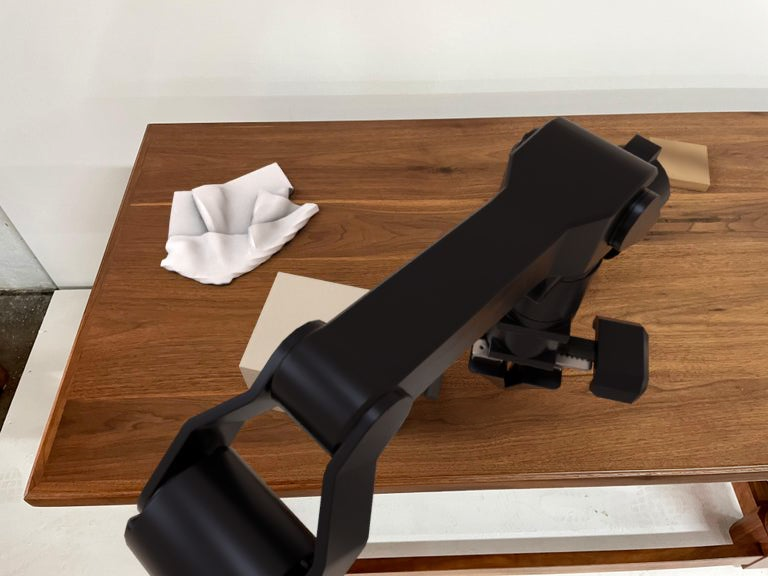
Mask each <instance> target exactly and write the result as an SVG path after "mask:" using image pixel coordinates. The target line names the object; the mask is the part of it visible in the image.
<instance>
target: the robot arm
mask: <svg viewBox="0 0 768 576" xmlns="http://www.w3.org/2000/svg"><path fill="white" fill-rule="evenodd" d="M661 150H662V147H661V146H659V145H657V144H655V143H653V142H651V141H649V139H647V138H645V137H643V136H642V135H640V134H638V133H636V134H635V135H634V136H633V137H632V138H631V139H630V140H628V141H627V143H626V144H618V145H616V144H615V143H612V142H611V141H609V140H607V139H606V138H603V137H602V136H600V135H598V134H596V133H594V132H593V131H590V130H589V129H587V128H585V127H583V126H582V125H580V124H578V123H576V122H574V121H572V120H571V119H568V118H567V117H565V116H557V117H554V118H552V119H550V120H548V121H547V122H545V123H544V124H543V125H541V126H538V127H535V128H532V129H531V130H530V131H528V132H526V133H525V134H524V135H523V136H522V138H521V139H520V140H518V141H517V142H516V143H515V144H514V145H513V146H512V147H511V150H510V151H509V154H508V160H507V163H506V165H505V170H504V172H503V175H502V180H501V182H500V186H499V189H498V192H497V193H496V194H495V195H494V196H492V197H491V198H490V199H489V200H488V201H486V202H485V203H484V204H483V205H482V206H480V207H479V208H478V209H476V210H475V211H474V212H472V213H470V214H469V215H468V216H467V217H465V218H464V219H463V220H461V221H460V222H459V223H457V224H456V225H455V226H453V227H452V228H451V229H449V231H447V232H446V233H444V234H443V235H441V236H440V237H438V239H436V240H435V241H434V242H432V243H431V244H429V245H428V246H427V247H426V248H424V249H423V250H422V251H420V252H419V253H417V254H416V255H415V256H414V257H412V258H411V259H410V260H408V261H407V262H405V263H404V264H403V265H402V266H400V267H399V268H398V269H396V270H395V271H393V272H392V273H391V274H389V276H387V277H385V278H384V279H383V280H381V281H380V282H379V283H377V284H376V285H375V286H374V287H372V288H371V289H369V290H370V291H369V292H367V293H366V294H365V295H363V296H362V297H361V298H359V299H358V300H357V301H355V302H354V303H353V304H351V305H350V306H349V307H347V308H346V309H345V310H343V311H342V312H341V313H339V314H338V315H337V316H335V317H334V318H333V319H331V320H330V321H329V322H327V323H326V322H324V321H322V320H314V321H309V322H307V323H305V324H303V325H302V326H300V327H298V328H297V329H295V330H294V331H293V332H292V333H291V334H290V335H288V336H287V337H286V338H285V339H284V340H283V341H282V342H281V343H280V345H279V346H278V347H277V348H276V350H275V351H274V352H273V354H272V355H271V356H270V358H269V360H268V361H267V363H266V364H265V366H264V367H263V369H262V370H261V372H260V374H259V375H258V377H257V378H256V380H255V381H254V383H253V384H252V386H251V388H250V389H249V388H248V390H246V391H244V392H242V393H240V394H237V395H236V396H234V397H232V398H229V399H227V400H225V401H223V402H221V403H219V404H217V405H215V406H213V407H211V408H209V409H207V410H204V411H202V412H200V413H197V414H196V415H194V416H192V417H190V418H188V419H187V420H186V421H185V422H184V423H183V424H182V425H181V428H180V429H179V431H178V432H177V433H176V436H174V439H173V440H172V442H171V443H170V445H169V446H168V448H167V450H166V451H165V453H164V455H163V456H162V458H161V459H160V461H159V463H158V464H157V466H156V467H155V469H154V470H153V472H152V473H151V475H150V477H149V478H148V480H147V482H146V483H145V484H144V487H143V488H142V490H141V492H140V494H139V495H138V498H137V501H136V510H137V511H138V513H137V514H135V515H132V516H131V517H129V518H128V519H127V521H126V525H125V528H124V529H125V530H124V534H123V537H124V538H123V539H124V541H125V545H126V546H127V548H128V550H130V551H131V553H132V555H133V556H134V557H135V558H136V559H137V561H138V562H139V564H140V565H141V566H142V567H143V568H144V570H145V571H146V573H147V574H148V575H149V576H345V575H346V574H347V572H348V571H349V570H350V568H351V567H352V566H353V564H354V563H355V561H356V560H357V559H358V557H359V556H360V554H362V552H363V551H364V549H365V548H366V546H367V544H368V541H369V538H370V529H371V522H372V521H371V519H372V512H373V501H374V494H375V485H376V476H377V466H378V461H379V458H380V456H381V455H382V453H383V452H385V449H387V448H386V447H388V445H389V444H390V442H391V441H392V440H393V439H394V436H395V435H396V434H397V432H398V431H399V429H400V428H401V426H402V425H403V424H404V423H405V421H406V419H407V418H408V416H409V413H410V412H411V409H412V406H413V404H414V402H415V400H416V399H417V398H418V397H420V396H421V395H420V394H421V393H422V392H423V391H424V390H425V389H427V388H428V387H429V386H430V385H431V384H432V383H433V382H434V381H435V380H436V379H437V378H438V377H439V376H440V375H441V374H442V373H443V374H445V372H446V371H447V370H448V369H449V368H450V367H451V366H452V365H453V364H454V363H456V361H458V360H459V359H460V358H461V357H462V356H463V355H464V354H465V353H466V352H467V351H468V350H469V349H470V352H469V357H468V363H467V370H468V371H469V372H470V373H471V374H474V375H478V376H481V377H482V378H484V379H485V380H487V381H489V382H491V384H493V386H495V387H496V388H497V389H498V390H503V391H506V392H509V391H522V390H523V391H524V390H549V391H552V392H553V391H557V390H559V389H560V388H561V386H562V381H563V380H562V379H563V369H564V368H568V369H572V370H577V371H581V372H586V373H589V372H591V371H592V379H591V380H590V382H589V384H588V392H589V393H591V394H592V395H594V396H595V397H596V398H599V399H604V400H608V401H613V402H618V403H622V404H623V403H624V404H627V405H632V404H634V403H635V402H636V401H638V400H640V398H641V397H642V396H643V395H644V394H645V392H646V391H647V389H648V384H649V381H650V354H649V353H650V345H649V344H650V341H649V340H650V337H649V336H650V335H649V333H648V331H647V330H646V328H645V327H644V326H643V325H642V324H641V323H639V322H635V321H629V320H624V319H619V318H613V317H610V316H609V317H608V316H603V315H599V314H596V315H595V317H594V318H593V320H592V325H591V329H593V330H594V339H591V338H584V337H580V336H575V335H571V331H572V323H573V321H574V320H575V317H576V315H577V314H578V311H579V309H580V308H581V306H582V303H583V301H584V299H585V297H586V295H587V293H588V291H589V290H590V287H591V285H592V283H593V281H594V279H595V277H596V276H597V274H598V272H599V269H600V267H601V265H602V263H603V260H605V261H606V260H607V261H609V260H612V259H614V258H616V257H617V256H619V255H620V254H621V252H623V251H625V250H626V249H628V248H630V247H633V246H634V245H636V244H638V243H640V242H641V241H642V240H643V238H644V237H645V236H646V235H647V234H648V233H649V232H650V230H652V229H653V227H654V226H655V225H656V224H657V223H658V221H659V219H660V218H661V209H662V208H663V207H664V206H665V205H666V204H667V202H668V201H669V199H670V197H671V195H672V194H671V186H670V182H669V177H668V175H667V173H666V171H665V169H664V168H663V166H662V165H661V164H660V162H659V161H658V160H657V158H658V156H659V154H660V152H661ZM509 363H510V365H509ZM592 369H593V370H592ZM277 406H279V407H280V408H281V409H282V410H283V411H284V412H285V414H286V415H287V416H288V417H289V418H290V419H291V420H292V421H293V422H294V423H295V424H296V425H297V426H298V427H299V428H300V429H301V430H303V432H304V433H306V435H307V436H309V438H311V439H312V440H313V441H314V443H316V444H317V445H318V447H320V448H321V450H323V451H324V452H325V453H326V455H328V457H330V458H331V459H330V460H329V462H328V463H327V464H326V466H325V469H324V473H323V475H322V483H321V491H320V492H321V493H320V501H319V509H318V519H317V527H316V535H315V534H314V533H313V532H312V531H311V530H310V529H309V528H308V527H307V526H306V525H305V523H303V522H302V520H301V519H300V518H299V517H298V516H297V515H296V514H295V513H294V512H293V510H291V509H290V508H289V506H288V505H287V504H286V503H285V502H284V501H283V500H282V499H281V498H280V497H279V496H278V494H276V492H275V491H274V490H273V489H272V488H271V487H270V486H269V485H268V484H267V483H266V482H265V481H264V480H263V479H262V477H261V476H260V475H258V473H257V472H256V471H255V470H254V468H253V467H251V465H250V464H249V463H248V462H247V461H246V460H245V459H244V458H243V457H242V455H240V454H239V453H238V452H237V451H236V450H235V448H234V447H233V446H231V444H232V443H233V441H234V440H235V438H236V436H237V435H238V434H239V432H240V431H241V429H242V427H243V426H244V425H245V423H246V422H247V421H249V420H251V419H253V418H256V417H257V416H259V415H262V414H264V413H266V412H269V411H270V410H271V409H273V408H275V407H277ZM284 412H283V413H284Z"/></svg>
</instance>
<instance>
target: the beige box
mask: <svg viewBox="0 0 768 576" xmlns="http://www.w3.org/2000/svg"><path fill="white" fill-rule="evenodd" d="M370 290H371V289H367V288H362V287H358V286H353V285H348V284H342V283H339V282H337V283H336V282H332V281H329V280H328V281H327V280H323V279H317V278H312V277H309V276H308V277H307V276H303V275H298V274H292V273H287V272H282V271H278V272H277V274H276V277H275V279H274V281H273V284H272V286H271V288H270V291H269V293H268V296H267V298H266V300H265V303H264V305H263V308H262V310H261V312H260V315H259V317H258V319H257V322H256V324H255V326H254V329H253V331H252V334H251V336H250V338H249V341H248V343H247V345H246V349H245V350H244V353H243V355H242V358H241V360H240V362H239V365H238V367H239V370H240V372H241V374H242V377H243V379H244V381H245V384H246V385H247V388H248V390H249V389H250V388H251V386H252V384H253V383H254V381H255V380H256V378H257V377H258V375H259V374H260V372H261V370H262V369H263V367H264V366H265V364H266V363H267V361H268V360H269V358H270V356H271V355H272V354H273V352H274V351H275V350H276V348H277V347H278V346H279V345H280V343H281V342H282V341H283V340H284V339H285V338H286V337H287V336H288V335H290V334H291V333H292V332H293V331H294V330H295V329H297V328H298V327H300V326H302V325H303V324H305V323H307V322H309V321H314V320H322V321H324V322H326V323H327V322H329V321H330V320H331V319H333V318H334V317H335V316H337V315H338V314H339V313H341V312H342V311H343V310H345V309H346V308H347V307H349V306H350V305H351V304H353V303H354V302H355V301H357V300H358V299H359V298H361V297H362V296H363V295H365V294H366V293H367V292H369V291H370ZM271 410H272V411H276V412H280V413H285V412H284V411H283V410H282V409H281V408H280V407H279V406H277V407H275V408H273V409H271ZM285 414H286V413H285Z"/></svg>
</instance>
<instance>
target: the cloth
mask: <svg viewBox="0 0 768 576" xmlns="http://www.w3.org/2000/svg"><path fill="white" fill-rule="evenodd" d="M294 189H295V188H294V187H293V186H292V184H291V182H290V181H289V178H288V177H287V175H286V174H285V173H284V172H283V170H282V169H281V167H280V165H279V164H278V163H277V162H273V163H270V164H268V165H265V166H263V167H261V168H259V169H256V170H254V171H251V172H249V173H246V174H244V175H242V176H240V177H237V178H235V179H232V180H229V181H226V182H224V183H222V184H221V183H218V184H212V183H211V184H203V185H201V186H197V187H195V188H192V189H191V190H181V191H180V190H179V191H174V192H173V197H172V198H173V199H172V203H171V209H170V218H169V225H168V236H167V241H166V244H165V250H166V252H167V256H166V258H164V259H161V263H160V268H161V267H162V268H163V269H165V270H166V271H168V272H173V273H176V274H178V275H180V276H181V277H183V278H184V277H185V278H189V279H192V280H193V281H196V282H198V283H200V284H203V285H209V284H213V285H216V286H221V285H230V283H231V282H232V281H233V279H234V278H238V277H240V276H243V275H244V274H246V273H248V272H251V271H253V270H255V269H256V268H257V267H259V266H261V264H262V263H265V262H266V261H269V259H271V257H272V256H273V255H274V254H275V253H277V252H279V251H281V249H283V248H284V245H285V244H286V243H288V242H290V241H292V240H293V239H294V238H295V236H296V235H297V233H298V231H299V230H301V229H303V227H305V226H306V225H307V224H308V222H309V221H310V218H311V217H312V216H314V215H315V214H317V213H318V212H319V211H320V209H319V206H318V204H316V203H312V202H310V203H309V202H306V203H304V204H302V205H298V204H296V203H293V202H292V200H290V198H289V196H290V195H291V194H292V193H293V191H294Z"/></svg>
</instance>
